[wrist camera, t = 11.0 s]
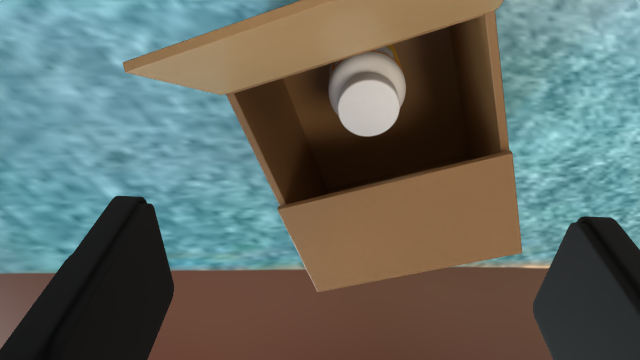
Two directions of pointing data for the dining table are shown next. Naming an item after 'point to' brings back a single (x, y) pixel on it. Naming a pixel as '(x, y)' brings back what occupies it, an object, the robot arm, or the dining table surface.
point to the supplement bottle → (367, 90)
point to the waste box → (393, 163)
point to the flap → (296, 40)
